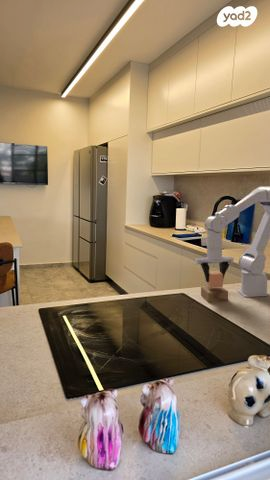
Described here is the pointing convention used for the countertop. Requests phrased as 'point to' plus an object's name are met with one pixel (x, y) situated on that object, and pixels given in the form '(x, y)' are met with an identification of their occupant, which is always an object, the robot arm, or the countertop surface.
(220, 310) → the countertop surface
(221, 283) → the terracotta cube
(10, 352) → the countertop surface
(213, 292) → the walnut block
